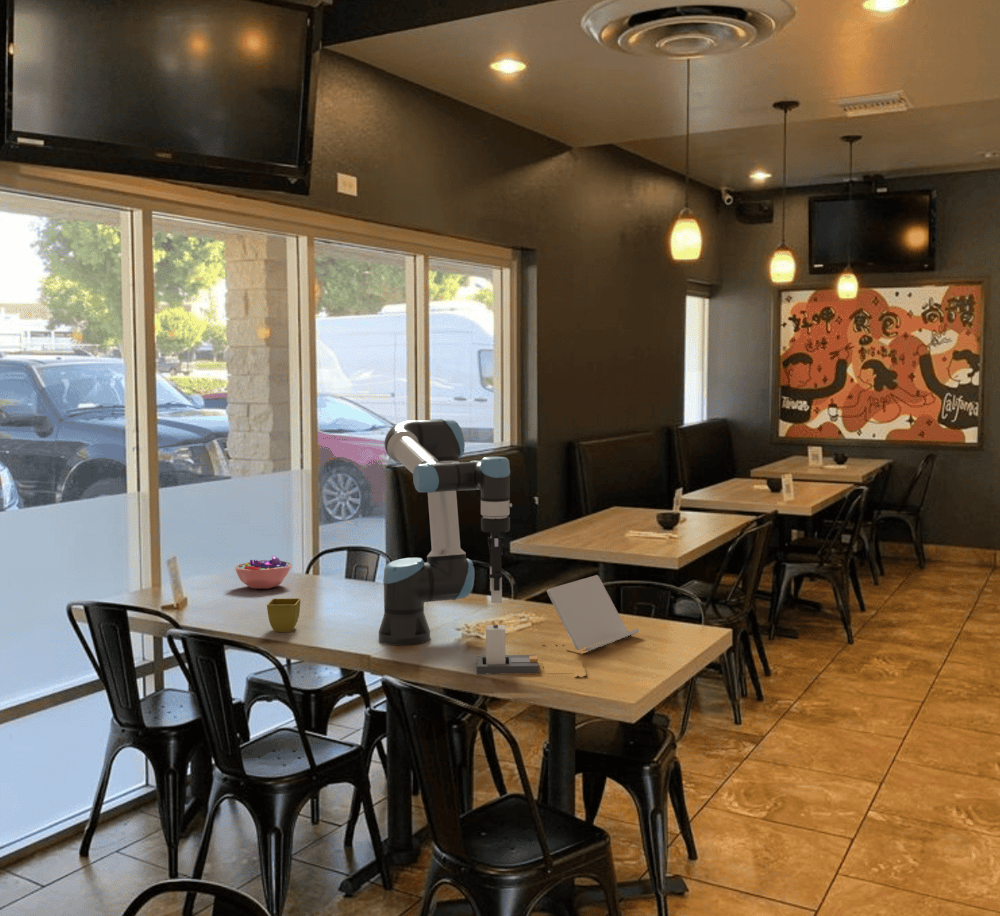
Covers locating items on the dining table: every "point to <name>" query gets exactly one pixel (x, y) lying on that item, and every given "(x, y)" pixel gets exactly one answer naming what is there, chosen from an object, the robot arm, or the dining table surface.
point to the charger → (495, 644)
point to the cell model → (263, 573)
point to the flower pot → (283, 614)
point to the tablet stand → (588, 613)
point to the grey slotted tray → (509, 664)
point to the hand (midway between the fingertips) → (495, 596)
